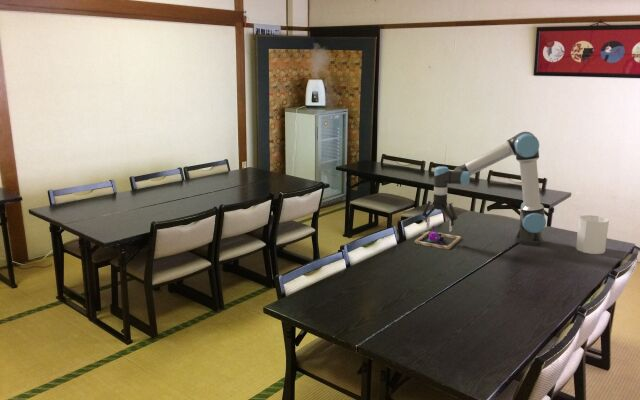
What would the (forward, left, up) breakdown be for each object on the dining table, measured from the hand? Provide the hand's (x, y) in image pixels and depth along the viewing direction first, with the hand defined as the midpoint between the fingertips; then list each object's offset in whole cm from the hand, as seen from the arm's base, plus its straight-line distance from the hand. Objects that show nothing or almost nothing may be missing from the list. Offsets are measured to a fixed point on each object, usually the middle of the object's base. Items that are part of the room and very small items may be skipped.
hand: (439, 229), depth 310 cm
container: (-77, -30, -8) cm, 83 cm away
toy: (0, +4, -8) cm, 8 cm away
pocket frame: (+2, 0, -7) cm, 7 cm away
